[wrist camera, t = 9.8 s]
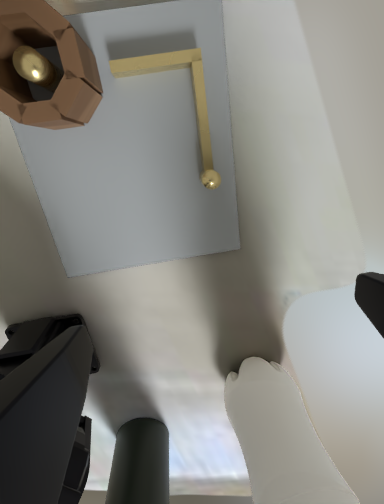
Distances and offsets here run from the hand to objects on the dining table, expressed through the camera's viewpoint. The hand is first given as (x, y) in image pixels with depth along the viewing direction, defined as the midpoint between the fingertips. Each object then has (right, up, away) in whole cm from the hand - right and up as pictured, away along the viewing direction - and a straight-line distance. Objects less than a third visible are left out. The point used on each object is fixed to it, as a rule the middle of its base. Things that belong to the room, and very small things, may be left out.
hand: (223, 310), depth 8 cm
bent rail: (-3, +10, +9) cm, 14 cm away
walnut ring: (-9, +12, +7) cm, 17 cm away
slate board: (-5, +9, +10) cm, 14 cm away
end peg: (-9, +13, +8) cm, 18 cm away
